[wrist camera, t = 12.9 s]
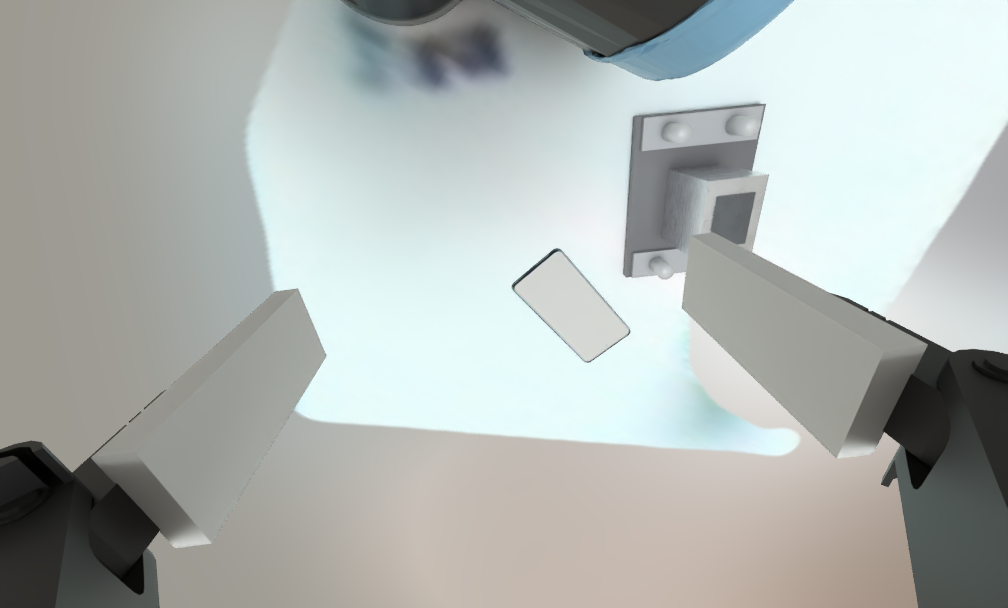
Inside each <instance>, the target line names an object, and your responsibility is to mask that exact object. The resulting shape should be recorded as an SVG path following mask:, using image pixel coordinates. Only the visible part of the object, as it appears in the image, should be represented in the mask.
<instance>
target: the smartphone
mask: <svg viewBox="0 0 1008 608" xmlns="http://www.w3.org/2000/svg"><path fill="white" fill-rule="evenodd" d="M512 289H513V291H514V292H515V293H516V294H517V295H518V296H519V297H520V298H521V299H522V300H523V301H524V302H525V303H526V304H527V305H528V306H529V307H530V308H531V309H532V310H533V311H534V312H535V313H536V314H537V315H538V316H539V317H540V318H541V319H542V320H543V321H544V322H545V323H546V324H547V325H548V326H549V327H550V328H551V329H552V330H553V331H554V332H555V333H556V334H557V335H558V336H559V337H560V338H561V339H562V340H563V341H564V342H565V343H566V344H567V345H568V346H569V347H570V348H571V349H572V350H573V351H574V352H575V353H576V354H577V355H578V356H579V357H580V358H581V359H582V360H583V361H584V362H587V363H588V362H591V361H592V360H594V359H595V358H597V357H598V356H599V355H601V354H602V353H604V352H605V351H606V350H608V349H609V348H611V347H612V346H613V345H615V344H616V343H618V342H619V341H620V340H622V339H623V338H625V337H626V336H627V335H629V334H630V329H629V327H628V326H627V325H626V324H625V323H624V322H623V321H622V319H621V318H620V317H619V316H618V315H617V314H616V312H615V311H614V310H613V309H612V308H611V307H610V306H609V304H608V303H607V302H606V301H605V300H604V299H603V298H602V296H601V295H600V294H599V293H598V292H597V291H596V290H595V288H594V287H593V286H592V285H591V284H590V283H589V282H588V280H587V279H586V278H585V277H584V276H583V275H582V273H581V272H580V271H579V270H578V269H577V268H576V267H575V265H574V264H573V263H572V262H571V261H570V260H569V259H568V257H567V256H566V255H565V254H564V253H563V252H562V251H561V250H560V249H554V250H553V251H551V252H550V253H549V254H548V255H547V256H545V257H544V258H543V259H542V260H541V261H539V262H538V263H537V264H536V265H535V266H533V267H532V268H531V269H530V270H529V271H527V272H526V273H525V274H524V275H523V276H521V277H520V278H519V279H518V280H517V281H516V282H514V283H513V285H512Z"/></svg>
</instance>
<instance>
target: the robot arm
mask: <svg viewBox="0 0 1008 608" xmlns="http://www.w3.org/2000/svg"><path fill="white" fill-rule="evenodd" d="M342 1H343V2H344V3H345V4H347V5H348V6H349V7H351V8H352V9H354V10H355V11H357V12H359V13H360V14H362V15H364V16H366V17H368V18H370V19H373V20H375V21H378V22H382V23H385V24H390V25H397V26H412V25H419V24H423V23H426V22H429V21H432V20H434V19H437V18H439V17H440V16H442V15H444V14H445V13H447V12H448V11H450V10H451V9H452V8H454V7H455V6H456V5H457V4H458V3H459V2H460V1H461V0H342ZM493 1H495V2H497V3H498V4H500V5H502V6H504V7H506V8H508V9H510V10H511V11H513V12H515V13H517V14H519V15H521V16H523V17H524V18H526V19H528V20H530V21H532V22H534V23H535V24H537V25H539V26H541V27H543V28H545V29H547V30H548V31H550V32H552V33H554V34H556V35H558V36H559V37H561V38H563V39H565V40H567V41H569V42H571V43H572V44H574V45H576V46H578V47H580V48H582V49H583V52H584V54H585V55H586V56H588V57H589V58H591V59H592V60H595V61H598V62H605V63H612V64H614V65H616V66H618V67H620V68H622V69H625V70H627V71H629V72H631V73H633V74H635V75H637V76H639V77H642V78H645V79H648V80H654V81H660V80H664V79H674V78H682V77H686V76H688V75H691V74H693V73H696V72H698V71H700V70H702V69H704V68H706V67H708V66H710V65H712V64H714V63H715V62H717V61H719V60H720V59H722V58H724V57H725V56H727V55H728V54H730V53H731V52H733V51H734V50H736V49H737V48H739V47H740V46H741V45H743V44H744V43H745V42H746V41H748V40H749V39H750V38H752V37H753V36H754V35H755V34H757V33H758V32H759V31H760V30H762V29H763V28H764V27H765V26H766V25H767V24H769V23H770V22H771V21H772V20H773V19H774V18H776V17H777V16H778V15H779V14H780V13H781V12H782V11H783V10H784V9H785V8H787V7H788V6H789V5H790V4H791V3H792V2H793V1H794V0H493ZM682 309H683V310H684V311H685V312H686V313H688V314H689V315H690V316H691V317H692V318H693V319H694V320H695V321H696V322H697V323H698V324H699V325H700V326H701V327H702V328H703V329H704V330H705V331H706V332H707V333H708V334H709V335H710V336H711V337H712V338H713V339H714V340H715V341H716V342H717V343H718V344H719V345H720V346H721V347H722V348H724V349H725V350H726V351H727V352H728V353H729V354H730V355H731V356H732V357H733V358H734V359H735V360H736V361H737V362H738V363H739V364H740V365H741V366H742V367H743V368H744V369H745V370H746V371H747V372H748V373H749V374H750V375H751V376H752V377H753V378H754V379H755V380H756V381H757V382H758V383H760V384H761V385H762V386H763V387H764V388H765V389H766V390H767V391H768V392H769V393H770V394H771V395H772V396H773V397H774V398H775V399H776V400H777V401H778V402H779V403H780V404H781V405H782V406H783V407H784V408H785V409H786V410H787V411H788V412H789V413H790V414H791V415H792V416H793V417H794V418H795V419H796V420H797V421H798V422H800V423H801V424H802V425H803V426H804V427H805V428H806V429H807V430H808V431H809V432H810V433H811V434H812V435H813V436H814V437H815V438H816V439H817V440H818V441H819V442H820V443H821V444H822V445H823V446H824V447H825V448H826V449H827V450H828V451H829V452H831V454H832V455H833V456H834V457H835V458H837V459H838V458H845V457H853V456H860V455H867V454H873V453H874V451H875V449H876V447H877V445H878V443H879V440H880V439H881V437H882V435H883V433H884V432H885V433H887V434H888V435H889V436H890V437H892V438H893V439H894V440H896V441H897V442H898V443H899V444H900V447H899V449H898V451H897V452H896V454H895V456H894V458H893V460H892V461H891V463H890V465H889V467H888V469H887V471H886V472H885V474H884V476H883V479H882V483H881V485H884V486H887V487H889V485H890V483H891V482H892V480H893V479H895V478H898V484H899V491H900V495H901V502H902V508H903V515H904V521H905V526H906V533H907V539H908V546H909V551H910V558H911V564H912V570H913V577H914V583H915V589H916V595H917V602H918V608H1008V354H1004V353H999V352H995V351H986V350H978V349H969V350H958V351H956V352H954V353H953V352H951V351H949V350H947V349H946V348H944V347H941V346H940V345H938V344H936V343H934V342H932V341H930V340H928V339H926V338H924V337H922V336H920V335H918V334H916V333H914V332H912V331H910V330H908V329H906V328H905V327H903V326H900V325H899V324H897V323H895V322H893V321H891V320H888V321H887V320H886V318H885V317H883V316H881V315H879V314H877V313H875V312H873V311H870V312H869V311H868V309H867V308H865V307H863V306H862V305H860V304H858V303H856V302H854V301H852V300H850V299H848V298H845V297H841V296H838V295H835V294H832V293H829V292H827V291H825V290H823V289H821V288H819V287H817V286H815V285H813V284H811V283H809V282H807V281H806V280H804V279H802V278H800V277H798V276H796V275H794V274H792V273H790V272H788V271H786V270H785V269H783V268H781V267H779V266H777V265H775V264H773V263H771V262H769V261H767V260H765V259H763V258H762V257H760V256H758V255H756V254H754V253H752V252H750V251H748V250H746V249H744V248H742V247H741V246H739V245H737V244H735V243H733V242H731V241H729V240H727V239H725V238H723V237H721V236H719V235H718V234H716V233H714V232H712V233H705V234H697V235H691V236H690V244H689V252H688V261H687V269H686V277H685V285H684V294H683V302H682ZM325 358H326V354H325V351H324V349H323V347H322V344H321V342H320V339H319V337H318V335H317V332H316V330H315V328H314V325H313V323H312V321H311V318H310V316H309V313H308V311H307V309H306V306H305V304H304V302H303V299H302V297H301V294H300V292H299V290H298V289H291V290H284V291H276V292H274V293H273V294H272V295H271V296H270V297H269V298H268V299H266V300H265V301H264V302H263V303H262V304H261V305H260V306H259V307H258V308H257V309H255V310H254V311H253V312H252V313H251V314H250V315H249V316H248V317H246V318H245V320H243V321H242V322H241V323H240V324H239V325H238V326H237V327H235V328H234V329H233V330H232V331H231V332H230V333H229V334H228V335H227V336H225V337H224V338H223V339H222V340H221V341H220V342H219V343H218V344H217V345H216V346H214V347H213V348H212V349H211V350H210V351H209V352H208V353H207V354H205V355H204V356H203V357H202V358H201V359H200V360H199V361H198V362H197V363H196V364H194V365H193V366H192V367H191V368H190V369H189V370H188V371H187V372H186V373H185V374H183V375H182V376H181V377H180V378H179V379H178V380H177V381H175V382H174V383H173V384H172V385H171V386H170V387H169V388H168V389H167V390H165V391H163V392H162V393H161V394H159V395H158V396H157V397H156V398H155V399H154V400H153V401H152V402H151V403H149V404H148V405H147V406H146V407H145V408H144V410H143V411H142V412H140V413H138V414H137V415H136V416H135V417H134V418H133V419H132V420H130V421H129V424H128V425H125V426H124V427H123V428H122V429H121V430H119V431H118V432H117V433H116V434H115V435H114V436H113V437H111V438H110V439H109V440H108V441H107V442H106V443H105V444H104V445H103V446H101V448H99V449H98V450H97V451H96V452H95V453H94V454H93V455H92V456H90V457H89V458H88V459H87V460H86V461H85V462H84V463H83V464H81V465H80V466H79V467H78V468H77V469H76V470H75V471H74V472H73V473H72V472H71V471H70V470H68V469H67V468H66V467H65V465H64V464H63V463H62V462H61V461H60V460H59V459H57V457H56V456H54V455H53V453H51V451H50V450H49V449H48V448H47V447H46V446H45V445H43V443H42V442H36V441H28V442H23V443H18V444H14V445H11V446H8V447H6V448H3V449H1V450H0V608H160V607H159V594H158V581H157V569H156V559H155V557H154V556H153V554H152V553H151V552H150V551H149V550H148V549H147V547H148V545H149V544H150V543H151V542H152V540H153V539H154V537H155V536H156V535H157V533H158V532H159V531H160V532H161V533H162V534H163V535H164V537H166V539H167V540H168V541H169V542H170V543H171V544H172V545H173V546H174V547H175V548H181V547H188V546H195V545H203V544H210V543H212V542H213V541H214V539H215V537H216V536H217V534H218V532H219V531H220V529H221V528H222V526H223V524H224V523H225V521H226V519H227V517H228V516H229V514H230V513H231V511H232V510H233V508H234V506H235V505H236V503H237V501H238V500H239V498H240V496H241V495H242V493H243V491H244V490H245V488H246V487H247V485H248V483H249V482H250V480H251V478H252V477H253V475H254V474H255V472H256V470H257V469H258V467H259V465H260V464H261V462H262V461H263V459H264V457H265V456H266V454H267V452H268V451H269V449H270V447H271V446H272V444H273V443H274V441H275V439H276V438H277V436H278V434H279V432H280V431H281V429H282V428H283V426H284V425H285V423H286V421H287V420H288V418H289V416H290V415H291V413H292V412H293V410H294V408H295V407H296V405H297V403H298V402H299V400H300V398H301V397H302V395H303V394H304V392H305V390H306V389H307V387H308V385H309V384H310V382H311V380H312V379H313V377H314V376H315V374H316V372H317V371H318V369H319V367H320V366H321V364H322V363H323V361H324V359H325Z"/></svg>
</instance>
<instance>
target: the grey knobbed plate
mask: <svg viewBox="0 0 1008 608" xmlns="http://www.w3.org/2000/svg"><path fill="white" fill-rule="evenodd" d="M765 106H766V104H756V105H746V106H737V107H727V108H717V109H708V110H698V111H688V112H679V113H669V114H659V115H650V116H640V117H634V120H633V135H632V151H631V166H630V182H629V198H628V213H627V229H626V245H625V260H624V276H625V277H632V278H635V277H644V276H653V275H658V276H659V277H660V278H661V279H669V278H670V277H671V276H672V275H673V273H680V272H686V269H687V261H688V256H687V255H685V254H684V253H682V252H681V251H679V250H678V249H676V248H675V247H673V246H672V245H671V244H669V243H668V242H666V241H665V240H663V239H662V231H663V221H664V212H665V202H666V192H667V182H668V172H669V169H678V168H687V167H696V166H704V165H713V164H722V165H727V166H732V167H736V168H741V169H746V170H750V171H752V168H753V163H754V158H755V153H756V149H757V144H758V139H759V134H760V130H761V125H762V120H763V115H764V110H765Z"/></svg>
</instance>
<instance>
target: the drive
mask: <svg viewBox="0 0 1008 608" xmlns="http://www.w3.org/2000/svg"><path fill="white" fill-rule="evenodd" d="M768 177H769V174H764V173H760V172H755V171H750V170H746V169H741V168H736V167H732V166H727V165H722V164H713V165H704V166H696V167H687V168H678V169H669V172H668V182H667V192H666V202H665V212H664V221H663V231H662V239H663V240H665V241H666V242H668V243H669V244H671V245H672V246H673V247H675V248H676V249H678V250H679V251H681V252H682V253H684V254H685V255H687V256H688V252H689V244H690V236H691V235H697V234H705V233H712V232H714V233H716V234H718V235H719V236H721V237H723V238H725V239H727V240H729V241H731V242H733V243H735V244H737V245H739V246H741V247H742V248H744V249H746V250H748V251H750V252H752V249H753V244H754V240H755V235H756V231H757V226H758V222H759V218H760V213H761V209H762V204H763V200H764V195H765V191H766V186H767V182H768Z"/></svg>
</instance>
